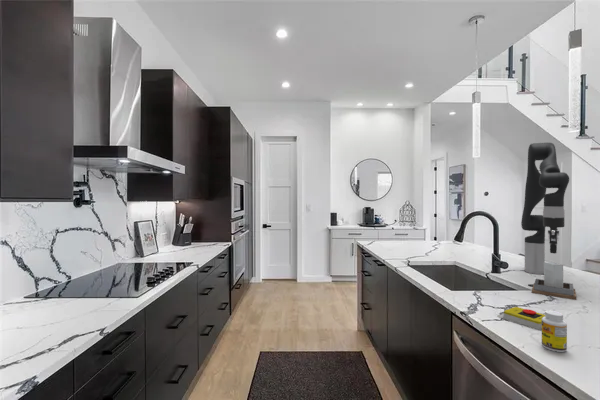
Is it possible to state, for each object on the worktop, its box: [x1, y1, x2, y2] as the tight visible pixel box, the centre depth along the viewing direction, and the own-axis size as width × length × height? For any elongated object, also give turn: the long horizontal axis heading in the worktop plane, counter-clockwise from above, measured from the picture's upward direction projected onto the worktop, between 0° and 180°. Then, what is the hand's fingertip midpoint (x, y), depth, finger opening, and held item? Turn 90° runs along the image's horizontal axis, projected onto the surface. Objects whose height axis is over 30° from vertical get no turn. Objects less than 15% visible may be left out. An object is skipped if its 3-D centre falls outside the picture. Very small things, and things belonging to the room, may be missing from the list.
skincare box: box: [543, 261, 564, 288], centre depth 139 cm, size 6×4×12 cm
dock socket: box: [531, 278, 577, 301], centre depth 138 cm, size 15×15×4 cm
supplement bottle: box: [541, 309, 568, 353], centre depth 87 cm, size 6×6×10 cm
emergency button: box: [496, 306, 545, 332], centre depth 106 cm, size 9×4×15 cm
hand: (553, 251), depth 138 cm, fingers open, 8 cm apart
